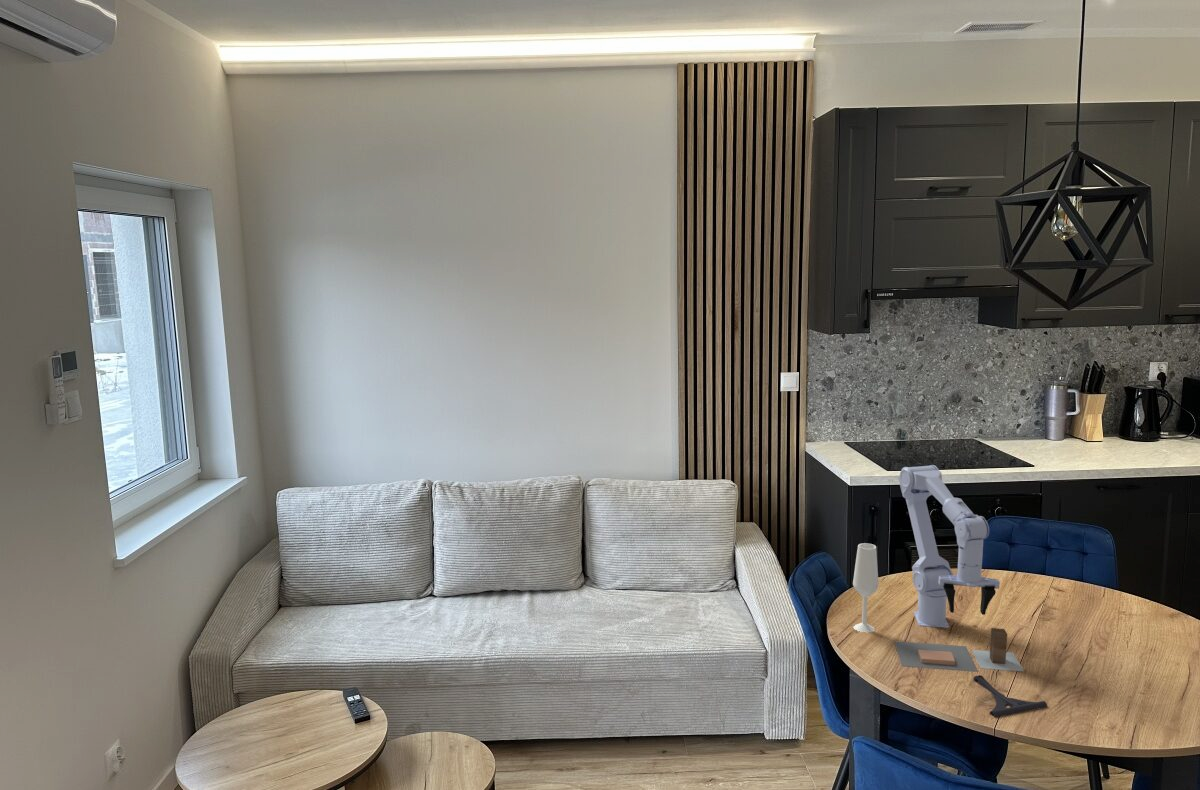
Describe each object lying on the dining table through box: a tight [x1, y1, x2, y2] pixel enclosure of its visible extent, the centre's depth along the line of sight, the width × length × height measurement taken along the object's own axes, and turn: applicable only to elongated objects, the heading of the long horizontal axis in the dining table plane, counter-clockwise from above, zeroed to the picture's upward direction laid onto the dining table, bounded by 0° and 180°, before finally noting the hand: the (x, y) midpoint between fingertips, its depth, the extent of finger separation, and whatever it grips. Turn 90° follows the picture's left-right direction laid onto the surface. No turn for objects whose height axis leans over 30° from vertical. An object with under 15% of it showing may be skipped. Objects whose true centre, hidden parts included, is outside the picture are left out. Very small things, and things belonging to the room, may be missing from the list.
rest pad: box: [971, 649, 1025, 672], centre depth 217 cm, size 10×10×1 cm
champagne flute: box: [852, 542, 879, 634], centre depth 235 cm, size 7×7×24 cm
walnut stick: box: [989, 627, 1008, 664], centre depth 216 cm, size 3×3×8 cm
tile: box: [918, 650, 955, 665], centre depth 218 cm, size 1×8×5 cm
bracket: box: [973, 674, 1048, 718], centre depth 201 cm, size 14×15×3 cm
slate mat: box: [894, 640, 979, 673], centre depth 220 cm, size 14×18×1 cm
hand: (967, 612), depth 225 cm, fingers open, 7 cm apart
